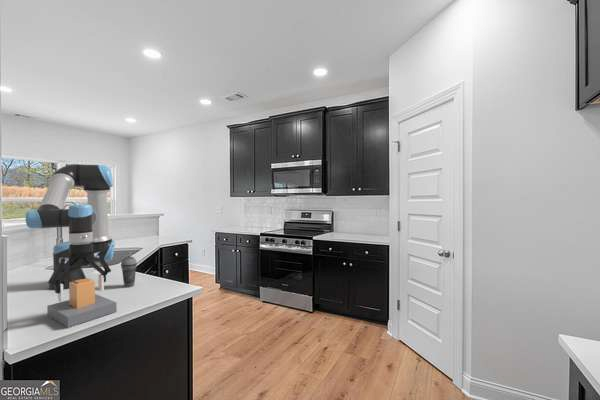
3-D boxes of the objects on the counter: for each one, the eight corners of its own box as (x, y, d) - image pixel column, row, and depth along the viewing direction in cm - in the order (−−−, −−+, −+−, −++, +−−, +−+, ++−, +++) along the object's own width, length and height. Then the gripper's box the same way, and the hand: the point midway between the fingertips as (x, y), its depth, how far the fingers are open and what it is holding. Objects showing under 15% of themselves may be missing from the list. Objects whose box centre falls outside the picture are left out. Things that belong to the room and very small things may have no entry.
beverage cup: (125, 283, 149) (125, 247, 149) (139, 283, 150) (139, 246, 149) (118, 288, 142) (117, 249, 141) (133, 287, 142) (132, 249, 142)
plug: (69, 310, 111) (69, 280, 110) (87, 305, 116) (86, 277, 115) (77, 314, 107) (76, 283, 107) (95, 309, 112) (94, 279, 112)
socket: (47, 315, 110) (47, 305, 110) (94, 302, 123) (93, 293, 123) (68, 328, 99) (67, 317, 99) (116, 311, 113) (116, 302, 113)
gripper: (43, 249, 98) (45, 308, 99) (119, 239, 119) (120, 288, 120) (36, 247, 102) (37, 304, 102) (110, 238, 123) (111, 285, 124)
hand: (82, 295), depth 111 cm, fingers open, 13 cm apart
